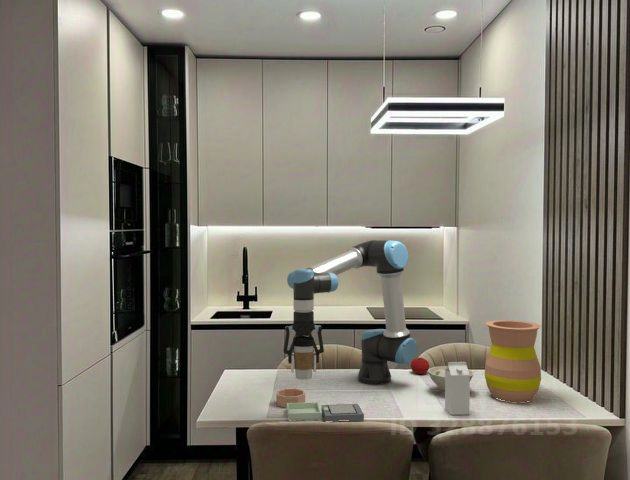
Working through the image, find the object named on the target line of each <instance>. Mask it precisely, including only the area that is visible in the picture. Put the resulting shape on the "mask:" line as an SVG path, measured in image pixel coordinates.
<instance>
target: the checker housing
mask: <svg viewBox="0 0 630 480" xmlns="http://www.w3.org/2000/svg"><path fill="white" fill-rule="evenodd" d="M331 405H332V404H321V411H322V418H323V420H324V422H325V421H339V420H349V421H355V422H365V413H364V412H363V410H362V408H361V407H360V405H359V403H345V404H344V403H342V404H341V403H340V404H339V403H338V404H336V405H353V407H354V409H355V411H356V414H333V415H331V413H330V411H329V406H331Z"/></svg>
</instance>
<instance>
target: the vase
mask: <svg viewBox="0 0 630 480" xmlns="http://www.w3.org/2000/svg"><path fill="white" fill-rule="evenodd" d="M485 325H486V326H487V327H488V332H489V337H490V341H491V346H490V349H489V350H488V351H489V352H488V355H487V357H486V360H485V364H484V378H485V382H486V386H487V389H488V390H489V392H490V394H491V395H492V397H493V396H494V397H495V398H494V397H493V398H494V399H496V398H498V399H501V400H505V401H510V402H527V401H530V402H531V400H532V401H533V400H534V398H535V397H536V395H537V394H538V392H539V388H540V385H541V381H542V370H541V364H540V362H539V358H538V355H537V352H536V349H535V344H536V340H537V335H538V330H539V329H540V328H541V326H542V325H540V324H539V323H536V322H530V321H525V320H513V319H512V320H509V319H502V320H501V319H500V320H499V319H498V320H489V321H486V322H485ZM498 399H497V400H498ZM510 402H509V403H510ZM527 403H528V402H527Z"/></svg>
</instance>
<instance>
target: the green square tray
mask: <svg viewBox="0 0 630 480" xmlns="http://www.w3.org/2000/svg"><path fill="white" fill-rule="evenodd" d="M286 414H287V421H288V420H308V421H322V420H323V414H322V407H320V402H319V401H318V402H317V401H312V402H311V401H309V402H307V401H305V403H287V408H286Z"/></svg>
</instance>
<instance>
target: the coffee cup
mask: <svg viewBox="0 0 630 480" xmlns="http://www.w3.org/2000/svg"><path fill="white" fill-rule="evenodd" d="M292 341H294V343H293V346H294V350H293V352H292V354H293V355H294V370H295V371H294V374H295V378H296V379H297V380H301V381H302V380H310V379H312V377H313V376H312V375H313V356H314V353H315V350H314V345H315V344H316V342H315V343H314V341H315V338H314V337H313V339H312V340H310V338H309V336H299V338H298V340H297V339H294V336H293V339H292Z"/></svg>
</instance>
